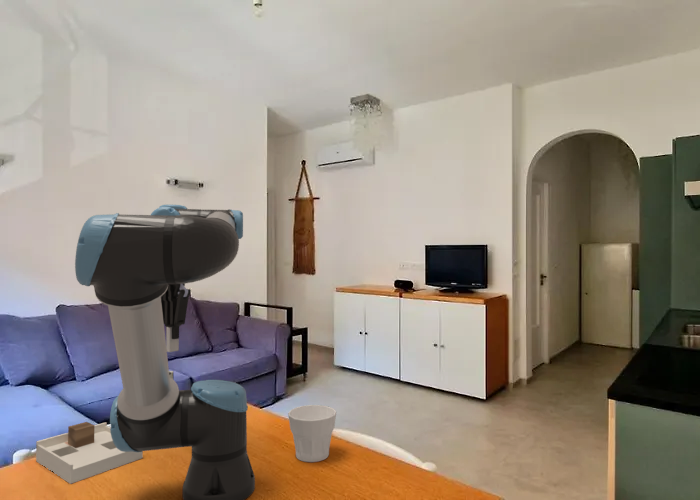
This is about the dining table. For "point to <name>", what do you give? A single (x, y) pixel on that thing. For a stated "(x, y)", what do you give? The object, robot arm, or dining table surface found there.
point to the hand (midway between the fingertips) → (172, 350)
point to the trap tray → (82, 455)
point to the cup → (312, 431)
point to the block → (81, 434)
